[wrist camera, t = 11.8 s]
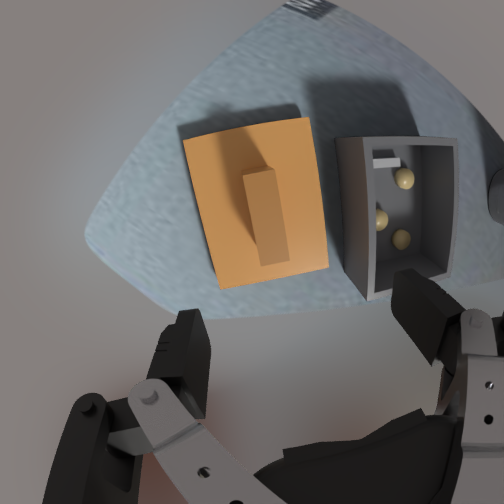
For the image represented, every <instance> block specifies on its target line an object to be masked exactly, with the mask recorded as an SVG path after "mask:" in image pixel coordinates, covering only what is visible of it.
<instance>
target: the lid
mask: <svg viewBox="0 0 504 504" xmlns="http://www.w3.org/2000/svg"><path fill="white" fill-rule="evenodd" d="M183 143H184V148H185V152H186V157H187V161H188V166H189V170H190V174H191V179H192V183H193V187H194V191H195V195H196V199H197V203H198V207H199V211H200V215H201V219H202V223H203V227H204V231H205V235H206V239H207V242H208V246H209V250H210V254H211V257H212V261H213V265H214V268H215V272H216V275H217V279H218V283H219V286H220V290H221V289H226V288H231V287H236V286H242V285H247V284H252V283H257V282H262V281H267V280H272V279H277V278H282V277H287V276H291V275H296V274H301V273H305V272H310V271H315V270H319V269H324V268H328V267H329V264H328V251H327V240H326V230H325V221H324V212H323V204H322V196H321V188H320V181H319V174H318V167H317V161H316V155H315V149H314V143H313V137H312V131H311V126H310V121H309V117H304V118H296V119H288V120H281V121H274V122H267V123H261V124H255V125H250V126H244V127H239V128H234V129H229V130H224V131H220V132H215V133H211V134H207V135H203V136H198V137H194V138H191V139H187V140H183Z"/></svg>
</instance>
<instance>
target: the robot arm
mask: <svg viewBox="0 0 504 504" xmlns="http://www.w3.org/2000/svg"><path fill="white" fill-rule="evenodd" d="M489 211H490V214H491V217H492V218H493V220H494V221H496V222H498V223H500V224H502V225H504V170H503V169H501V170H499V171H498V172H497V173H496V174H495V175H494V177H493V179H492V182H491V185H490V190H489ZM391 310H392V313H393V316H394V317H395V318H396V320H397V321H398V322H399V324H400V325H401V326H402V327H403V329H404V330H405V331H406V333H407V334H408V335H409V337H410V338H411V339H412V341H413V342H414V343H415V345H416V346H417V347H418V349H419V350H420V351H421V353H422V354H423V355H424V357H425V358H426V360H427V361H428V362H429V364H430V365H431V367H432V366H434V365H436V364H439V363H441V362H442V363H443V364H444V366H443V368H442V371H441V379H440V387H439V394H438V400H437V406H436V410H435V413H434V415H427V416H425V414H424V413H423V411H422V409H421V408H420V409H418V410H415V411H413V412H411V413H408V414H406V415H404V416H401V417H399V418H396V419H394V420H391V421H390V422H388V423H387V424H385V425H384V426H382V427H381V428H379V429H378V430H376V431H374V432H372V433H371V434H369V435H367V436H366V437H364V438H362V439H360V440H351V441H334V442H318V443H313V444H308V445H304V446H299V447H293V448H287V449H283V455H284V458H281V459H279V460H277V461H274V462H272V463H270V464H268V465H267V466H265V467H263V468H262V469H260V470H259V471H258V472H256V473H255V474H254V475H252V474H251V473H250V472H248V471H247V470H246V469H245V468H244V467H243V466H242V465H241V464H240V463H239V462H238V461H236V459H234V457H233V456H232V455H230V453H228V451H227V450H226V449H225V448H224V447H222V445H221V444H220V443H219V442H218V441H217V440H216V439H215V438H214V437H213V436H212V435H211V434H210V433H209V431H208V430H207V429H206V428H205V427H204V426H203V425H202V424H201V423H198V422H196V420H195V419H205V416H206V415H205V414H206V403H207V392H208V380H209V369H210V359H211V346H210V340H209V337H208V334H207V331H206V328H205V325H204V322H203V319H202V316H201V313H200V310H199V309H190V310H182V311H179V313H178V316H177V319H176V323H175V324H172V325H168V326H167V327H166V328H165V330H164V331H163V332H162V333H161V335H160V338H159V341H158V345H157V347H156V350H155V351H156V352H155V353H154V356H153V359H152V362H151V365H150V368H149V371H148V374H147V378H146V380H143V381H141V382H139V383H138V384H136V385H135V386H134V387H133V388H132V389H131V391H130V392H129V395H128V397H127V398H123V399H119V400H114V401H110V402H107V401H106V400H105V399H104V398H103V396H101V395H100V394H97V393H88V394H85V395H83V396H81V397H80V398H79V399H78V400H77V401H76V402H75V403H74V405H73V407H72V409H71V412H70V414H69V417H68V420H67V422H66V425H65V428H64V431H63V433H62V436H61V439H60V442H59V445H58V448H57V451H56V455H55V458H54V461H53V464H52V468H51V471H50V475H49V478H48V482H47V486H46V490H45V494H44V498H43V503H42V504H138V494H139V485H140V476H141V468H142V460H143V454H145V453H150V452H153V453H154V455H155V457H156V458H157V460H158V462H159V463H160V465H161V466H162V468H163V469H164V471H165V472H166V474H167V475H168V476H169V478H170V479H171V481H172V482H173V483H174V485H175V486H176V487H177V489H178V490H179V491H180V493H181V494H182V495H183V497H184V498H185V499H186V500H187V501H188V503H189V504H504V312H503V315H502V316H501V317H495V318H491V317H490V316H489V315H488V314H487V313H485V312H484V311H482V310H479V309H468V310H466V309H464V308H463V307H462V306H461V305H460V304H459V303H458V302H457V301H456V300H455V299H454V298H452V297H451V296H450V295H449V294H447V293H446V291H445V290H443V289H441V287H440V286H439V285H438V284H436V283H435V282H434V281H433V280H430V279H428V278H426V277H424V276H421V275H420V274H419V273H418V272H417V271H416V270H414V269H413V268H408V269H404V270H400V271H396V272H395V274H394V278H393V288H392V298H391Z"/></svg>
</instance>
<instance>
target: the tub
mask: <svg viewBox="0 0 504 504" xmlns="http://www.w3.org/2000/svg"><path fill="white" fill-rule="evenodd" d="M334 139H335V147H336V155H337V163H338V173H339V183H340V194H341V207H342V223H343V244H344V272H345V273H346V275H347V276H348V277H349V278H350V280H351V281H352V282H353V284H354V285H355V286H356V288H357V289H358V290H359V291H360V293H361V294H362V295H363V297H364V298H365V299H366V301H370V300H374V299H378V298H382V297H385V296H389V295H392V288H393V278H394V274H395V272H396V271H400V270H404V269H408V268H413V269H414V270H416V271H417V272H418V273H419V274H420V275H421V276H424V277H426V278H428V279H430V280H433V281H434V282H437V281H440V280H443V279H446V278H449V277H450V275H451V270H452V263H453V257H454V249H455V241H456V232H457V220H458V202H459V160H458V143H457V139H455V138H443V137H427V136H363V137H343V138H334Z"/></svg>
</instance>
